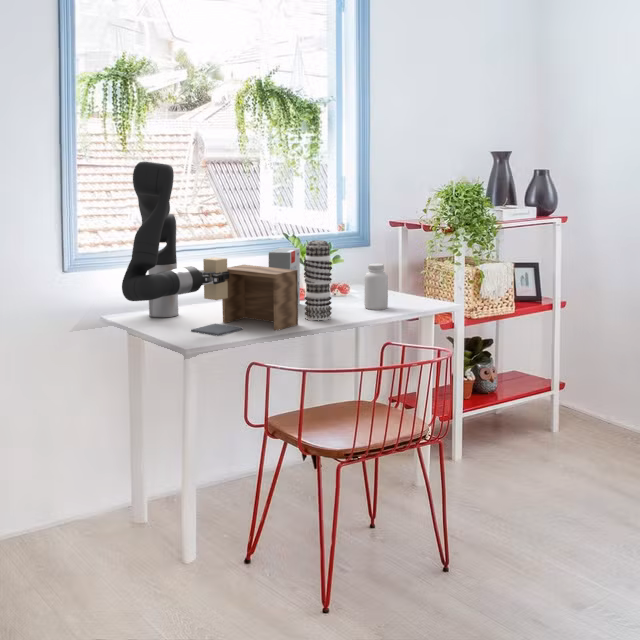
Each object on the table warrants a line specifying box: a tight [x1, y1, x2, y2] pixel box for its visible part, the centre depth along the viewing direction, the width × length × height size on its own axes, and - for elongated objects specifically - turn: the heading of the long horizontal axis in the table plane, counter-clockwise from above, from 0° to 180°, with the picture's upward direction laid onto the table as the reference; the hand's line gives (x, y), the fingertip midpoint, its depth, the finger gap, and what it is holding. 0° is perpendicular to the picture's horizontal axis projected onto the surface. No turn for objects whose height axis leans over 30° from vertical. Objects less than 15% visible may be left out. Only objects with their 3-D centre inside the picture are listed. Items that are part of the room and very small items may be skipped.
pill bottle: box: [364, 262, 389, 311], centre depth 324 cm, size 8×8×15 cm
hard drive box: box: [268, 247, 301, 305], centre depth 326 cm, size 16×8×20 cm, turn 168°
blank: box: [202, 256, 228, 301], centre depth 288 cm, size 5×5×12 cm
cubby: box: [221, 264, 299, 331], centre depth 299 cm, size 11×22×17 cm, turn 54°
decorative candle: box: [303, 239, 333, 322], centre depth 306 cm, size 9×9×25 cm
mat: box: [190, 323, 244, 337], centre depth 291 cm, size 11×11×1 cm
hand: (221, 274), depth 289 cm, fingers closed on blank, 5 cm apart
